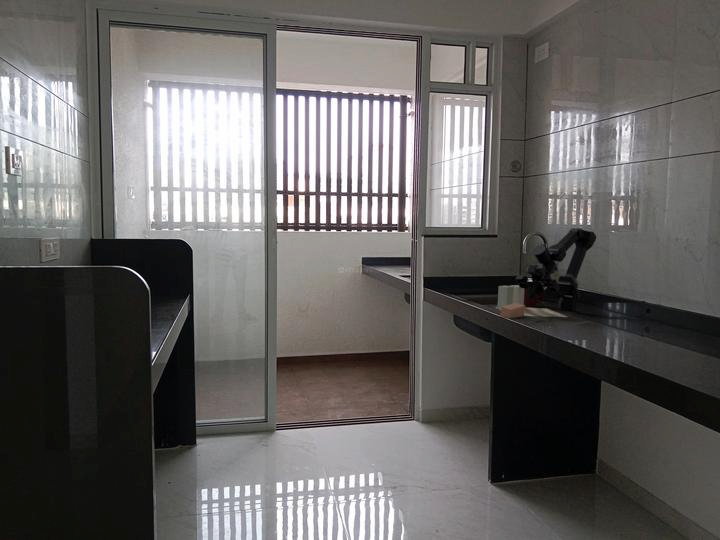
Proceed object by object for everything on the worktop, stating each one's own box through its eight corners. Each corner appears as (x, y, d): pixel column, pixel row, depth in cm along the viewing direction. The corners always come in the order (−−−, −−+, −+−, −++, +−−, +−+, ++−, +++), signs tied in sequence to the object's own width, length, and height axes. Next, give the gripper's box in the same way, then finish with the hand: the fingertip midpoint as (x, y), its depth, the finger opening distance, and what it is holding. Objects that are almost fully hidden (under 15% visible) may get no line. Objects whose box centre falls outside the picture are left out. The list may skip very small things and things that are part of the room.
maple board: (546, 310, 254) (546, 308, 254) (568, 319, 231) (568, 317, 231) (494, 309, 252) (494, 306, 252) (510, 317, 229) (511, 315, 229)
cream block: (514, 307, 253) (516, 285, 253) (523, 308, 250) (524, 286, 249) (508, 307, 251) (509, 285, 250) (517, 309, 247) (518, 286, 246)
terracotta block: (515, 302, 232) (501, 306, 225) (525, 305, 228) (510, 309, 222) (514, 313, 233) (500, 317, 226) (524, 316, 229) (509, 320, 223)
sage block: (503, 307, 250) (505, 285, 249) (512, 309, 247) (513, 286, 246) (497, 308, 247) (498, 286, 246) (505, 310, 244) (507, 287, 243)
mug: (540, 306, 265) (541, 285, 264) (545, 309, 257) (547, 287, 256) (518, 306, 265) (519, 285, 264) (522, 308, 257) (524, 287, 256)
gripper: (518, 256, 242) (501, 283, 236) (557, 259, 228) (540, 288, 222) (528, 273, 248) (512, 300, 242) (567, 278, 233) (550, 306, 228)
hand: (527, 298), depth 233 cm, fingers closed
